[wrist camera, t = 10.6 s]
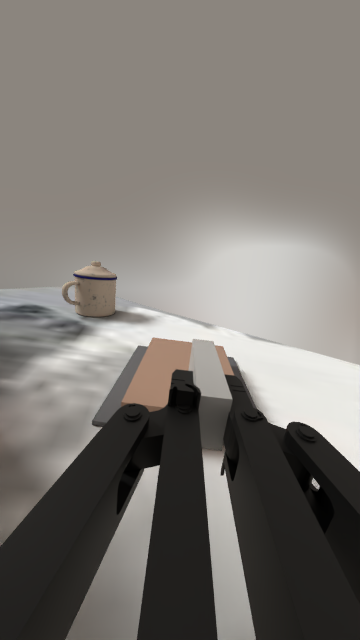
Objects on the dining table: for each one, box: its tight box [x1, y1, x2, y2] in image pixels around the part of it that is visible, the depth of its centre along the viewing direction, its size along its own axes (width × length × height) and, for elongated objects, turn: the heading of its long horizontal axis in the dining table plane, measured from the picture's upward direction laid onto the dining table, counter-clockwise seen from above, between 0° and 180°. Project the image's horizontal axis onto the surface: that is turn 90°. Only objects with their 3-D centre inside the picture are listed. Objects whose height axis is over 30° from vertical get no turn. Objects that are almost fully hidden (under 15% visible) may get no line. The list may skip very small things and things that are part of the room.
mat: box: [92, 346, 257, 426], centre depth 25 cm, size 16×15×1 cm
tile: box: [121, 338, 234, 412], centre depth 23 cm, size 3×10×14 cm
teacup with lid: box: [62, 261, 117, 317], centre depth 46 cm, size 12×9×12 cm
